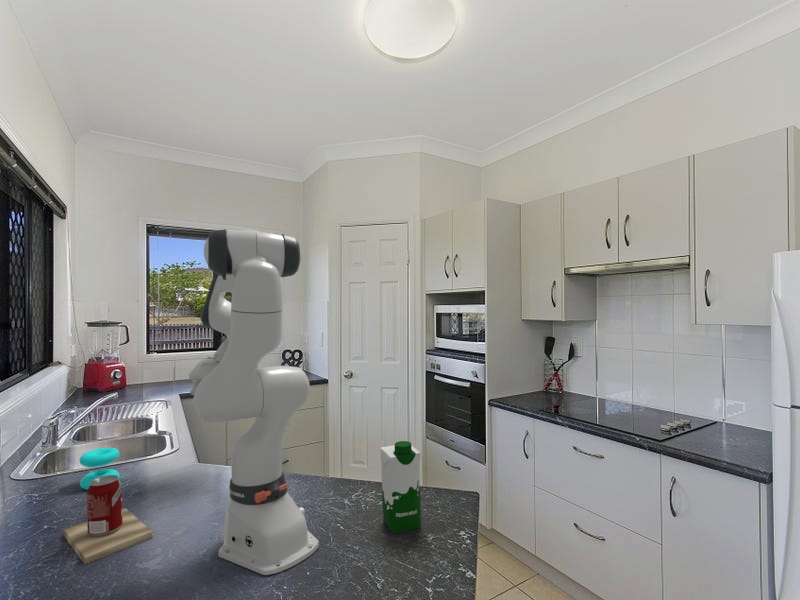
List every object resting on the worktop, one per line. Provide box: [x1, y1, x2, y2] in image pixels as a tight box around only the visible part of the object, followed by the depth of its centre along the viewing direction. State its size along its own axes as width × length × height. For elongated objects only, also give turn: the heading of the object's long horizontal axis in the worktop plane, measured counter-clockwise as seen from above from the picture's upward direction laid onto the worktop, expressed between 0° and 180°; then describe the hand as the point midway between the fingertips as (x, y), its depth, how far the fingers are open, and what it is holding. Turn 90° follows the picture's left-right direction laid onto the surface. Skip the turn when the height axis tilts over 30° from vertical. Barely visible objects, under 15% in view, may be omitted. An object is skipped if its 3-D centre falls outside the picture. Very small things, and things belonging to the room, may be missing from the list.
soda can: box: [86, 475, 123, 536], centre depth 101 cm, size 7×7×12 cm
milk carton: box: [379, 440, 422, 535], centre depth 103 cm, size 9×9×20 cm
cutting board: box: [63, 508, 153, 565], centre depth 101 cm, size 18×13×2 cm
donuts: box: [79, 447, 121, 491], centre depth 131 cm, size 10×10×10 cm
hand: (203, 395), depth 127 cm, fingers open, 8 cm apart
